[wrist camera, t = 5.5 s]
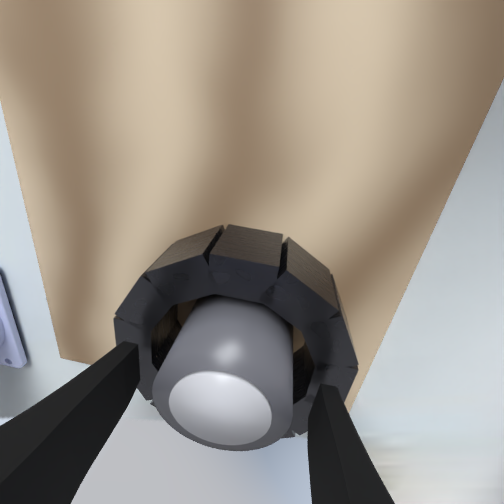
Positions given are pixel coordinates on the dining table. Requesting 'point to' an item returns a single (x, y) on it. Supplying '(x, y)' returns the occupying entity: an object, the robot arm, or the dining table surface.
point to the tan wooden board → (240, 139)
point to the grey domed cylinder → (229, 375)
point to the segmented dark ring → (247, 288)
